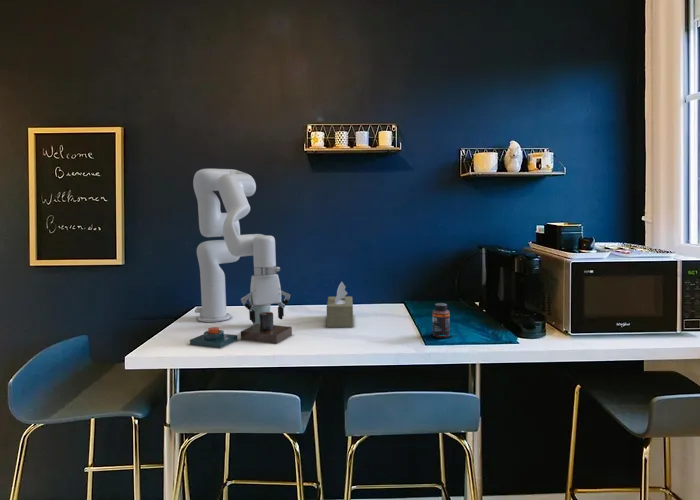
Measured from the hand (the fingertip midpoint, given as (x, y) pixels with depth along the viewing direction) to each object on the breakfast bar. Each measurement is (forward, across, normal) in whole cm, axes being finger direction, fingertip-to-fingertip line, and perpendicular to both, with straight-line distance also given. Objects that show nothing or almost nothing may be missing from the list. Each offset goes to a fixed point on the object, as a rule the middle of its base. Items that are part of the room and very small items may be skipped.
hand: (266, 320), depth 175 cm
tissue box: (+6, -32, -10) cm, 34 cm away
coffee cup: (+6, -2, -17) cm, 18 cm away
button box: (+6, +18, -3) cm, 19 cm away
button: (+3, +18, -3) cm, 18 cm away
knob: (+3, 0, 0) cm, 3 cm away
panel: (+6, 0, 0) cm, 6 cm away
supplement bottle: (+7, -55, +25) cm, 61 cm away
